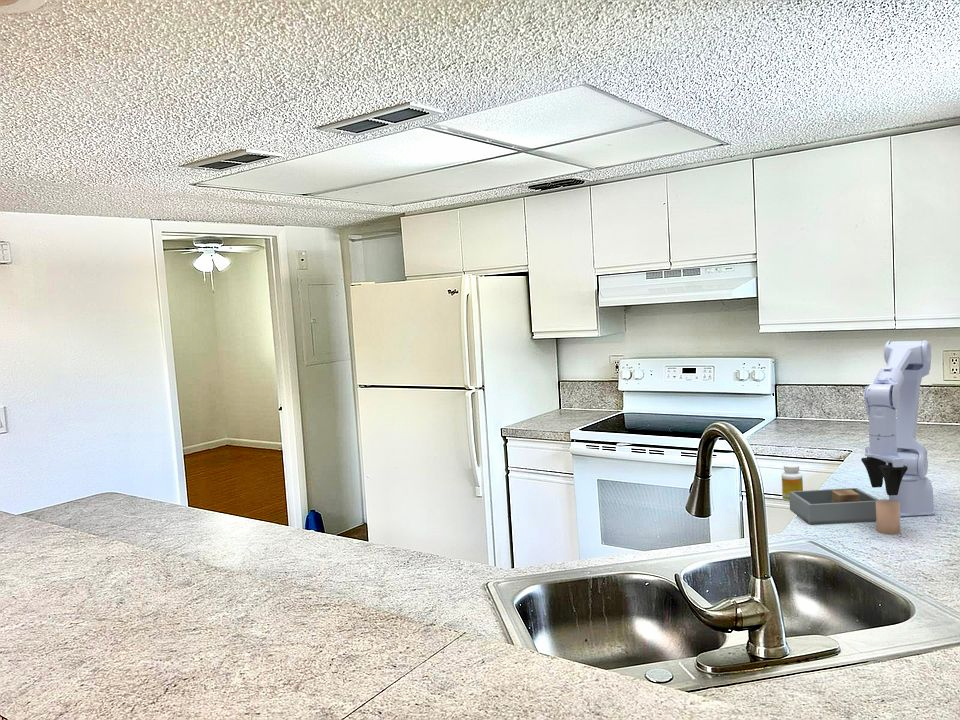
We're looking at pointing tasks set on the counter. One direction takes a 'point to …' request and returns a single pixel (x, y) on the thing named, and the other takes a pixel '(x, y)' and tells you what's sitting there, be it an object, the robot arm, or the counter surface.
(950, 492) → the counter surface
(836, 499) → the walnut cube
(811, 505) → the tote
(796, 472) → the supplement bottle
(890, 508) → the terracotta cylinder
